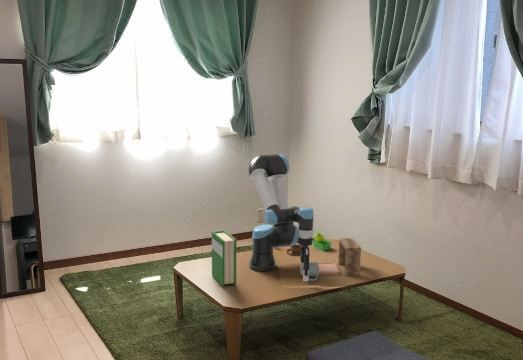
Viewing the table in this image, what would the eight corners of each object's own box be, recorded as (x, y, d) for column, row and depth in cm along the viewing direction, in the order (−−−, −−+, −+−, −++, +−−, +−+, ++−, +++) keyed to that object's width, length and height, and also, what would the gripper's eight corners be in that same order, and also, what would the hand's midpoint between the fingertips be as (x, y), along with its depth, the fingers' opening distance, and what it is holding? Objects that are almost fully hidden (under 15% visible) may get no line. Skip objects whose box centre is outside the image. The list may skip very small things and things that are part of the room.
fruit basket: (332, 250, 323) (332, 232, 321) (320, 252, 319) (321, 234, 317) (320, 245, 333) (321, 228, 331) (309, 247, 328) (310, 230, 326)
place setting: (289, 258, 308) (289, 249, 307) (271, 249, 325) (271, 240, 323) (312, 254, 316) (313, 245, 315) (294, 245, 333) (294, 237, 332)
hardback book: (236, 284, 265) (236, 239, 261) (222, 286, 262) (222, 240, 258) (224, 273, 281) (224, 230, 277) (211, 274, 278) (211, 231, 274)
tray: (306, 274, 280) (306, 269, 280) (302, 265, 295) (302, 260, 294) (339, 274, 282) (339, 268, 281) (334, 265, 296) (334, 260, 295)
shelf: (345, 275, 280) (346, 247, 277) (338, 264, 298) (339, 238, 295) (359, 275, 281) (361, 247, 278) (351, 264, 298) (353, 238, 296)
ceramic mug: (299, 273, 278) (301, 260, 277) (314, 273, 280) (315, 259, 279) (306, 282, 268) (307, 268, 267) (320, 281, 270) (322, 268, 269)
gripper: (316, 243, 260) (314, 285, 264) (309, 231, 282) (308, 270, 285) (301, 243, 259) (300, 285, 263) (295, 231, 281) (294, 270, 285)
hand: (304, 277), depth 274 cm, fingers closed on ceramic mug, 9 cm apart
